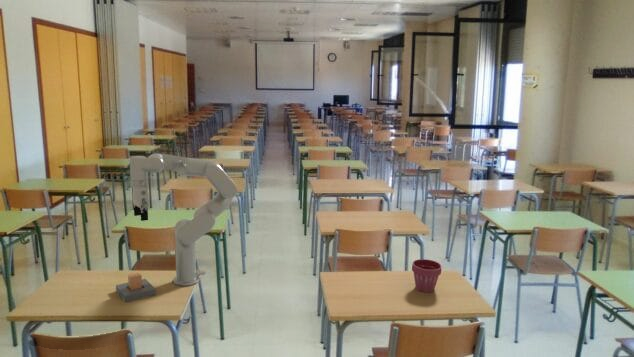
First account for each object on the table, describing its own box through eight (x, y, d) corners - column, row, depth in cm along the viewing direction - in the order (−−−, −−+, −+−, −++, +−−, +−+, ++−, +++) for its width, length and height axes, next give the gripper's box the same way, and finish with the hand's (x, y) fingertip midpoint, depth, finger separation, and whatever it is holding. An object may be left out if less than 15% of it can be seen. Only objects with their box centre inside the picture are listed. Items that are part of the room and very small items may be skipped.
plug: (139, 290, 244) (138, 272, 242) (142, 293, 241) (141, 275, 239) (128, 292, 241) (127, 274, 239) (131, 295, 238) (130, 277, 236)
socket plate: (145, 284, 250) (145, 278, 250) (155, 294, 239) (155, 288, 239) (116, 291, 242) (115, 285, 241) (125, 302, 231) (124, 295, 230)
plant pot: (445, 291, 251) (447, 267, 248) (422, 296, 245) (424, 271, 242) (427, 280, 263) (429, 257, 261) (405, 285, 257) (406, 261, 255)
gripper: (153, 185, 234) (155, 221, 237) (141, 178, 247) (142, 212, 251) (137, 187, 229) (139, 223, 233) (125, 180, 243) (127, 214, 246)
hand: (141, 217), depth 242 cm, fingers open, 9 cm apart
